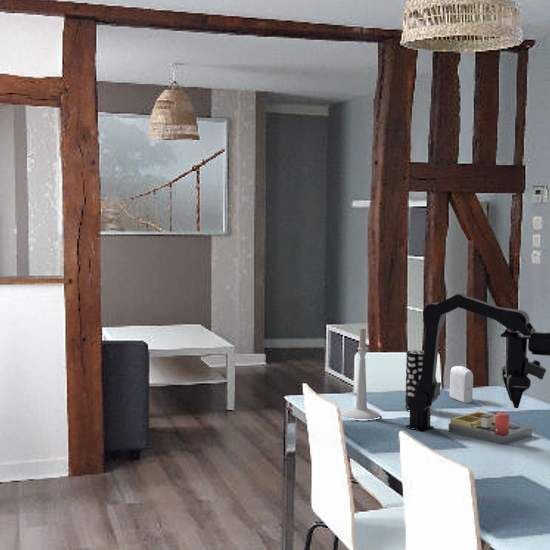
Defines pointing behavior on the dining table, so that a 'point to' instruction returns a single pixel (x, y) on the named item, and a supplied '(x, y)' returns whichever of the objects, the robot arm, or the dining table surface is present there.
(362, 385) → the candlestick
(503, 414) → the red rounded cylinder
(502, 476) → the dining table surface
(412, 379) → the white-spotted black cylinder
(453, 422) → the panel
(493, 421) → the block
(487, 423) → the block
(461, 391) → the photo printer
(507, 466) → the dining table surface
